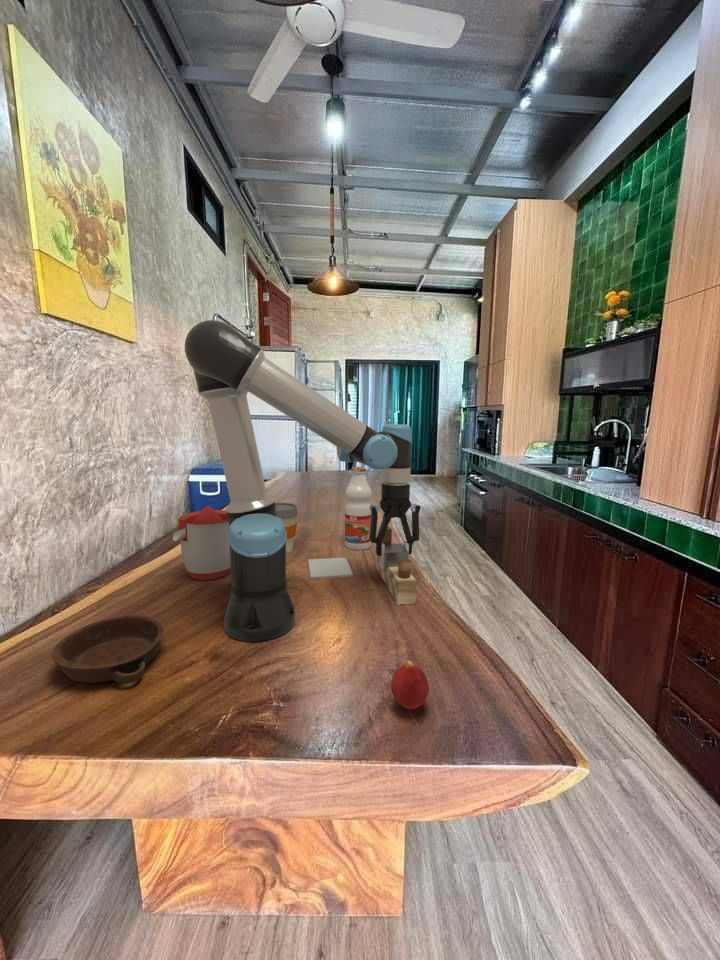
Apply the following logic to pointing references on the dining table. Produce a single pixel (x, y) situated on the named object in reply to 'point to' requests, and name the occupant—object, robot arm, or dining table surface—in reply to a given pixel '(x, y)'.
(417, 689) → the onion
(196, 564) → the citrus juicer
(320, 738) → the dining table surface
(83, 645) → the dish
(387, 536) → the wooden peg base
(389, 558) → the lever cap
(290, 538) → the reusable coffee cup
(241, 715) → the dining table surface
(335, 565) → the mat
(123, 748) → the dining table surface
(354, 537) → the fruit juice
